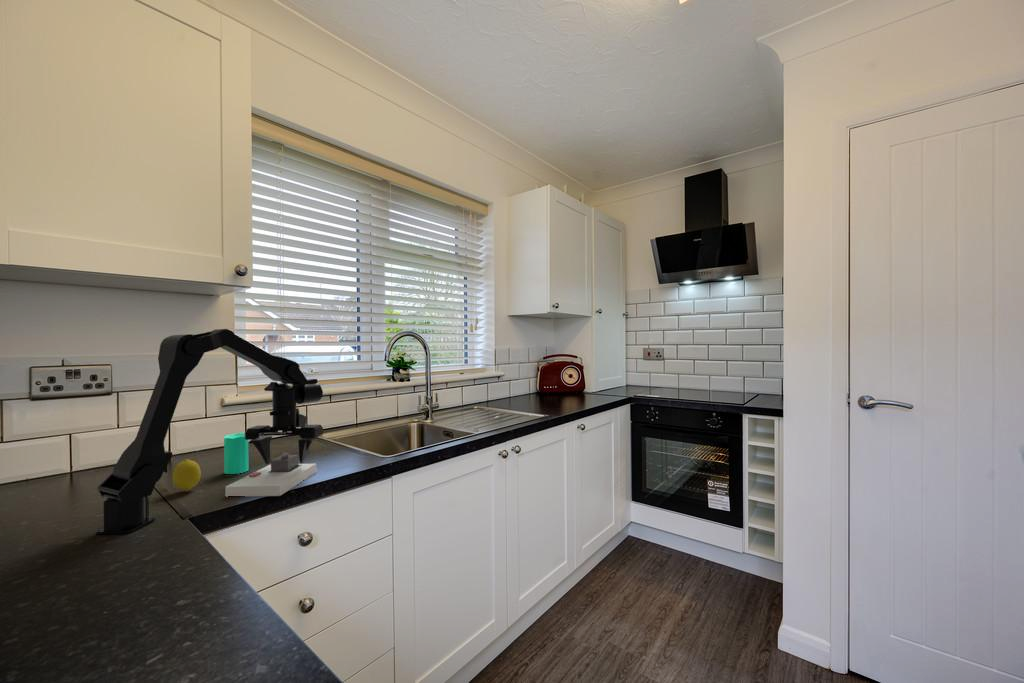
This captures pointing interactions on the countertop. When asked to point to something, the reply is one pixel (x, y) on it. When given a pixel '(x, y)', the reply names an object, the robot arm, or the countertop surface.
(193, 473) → the lemon
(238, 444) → the candle
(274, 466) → the plug
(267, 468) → the socket plate
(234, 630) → the countertop surface
